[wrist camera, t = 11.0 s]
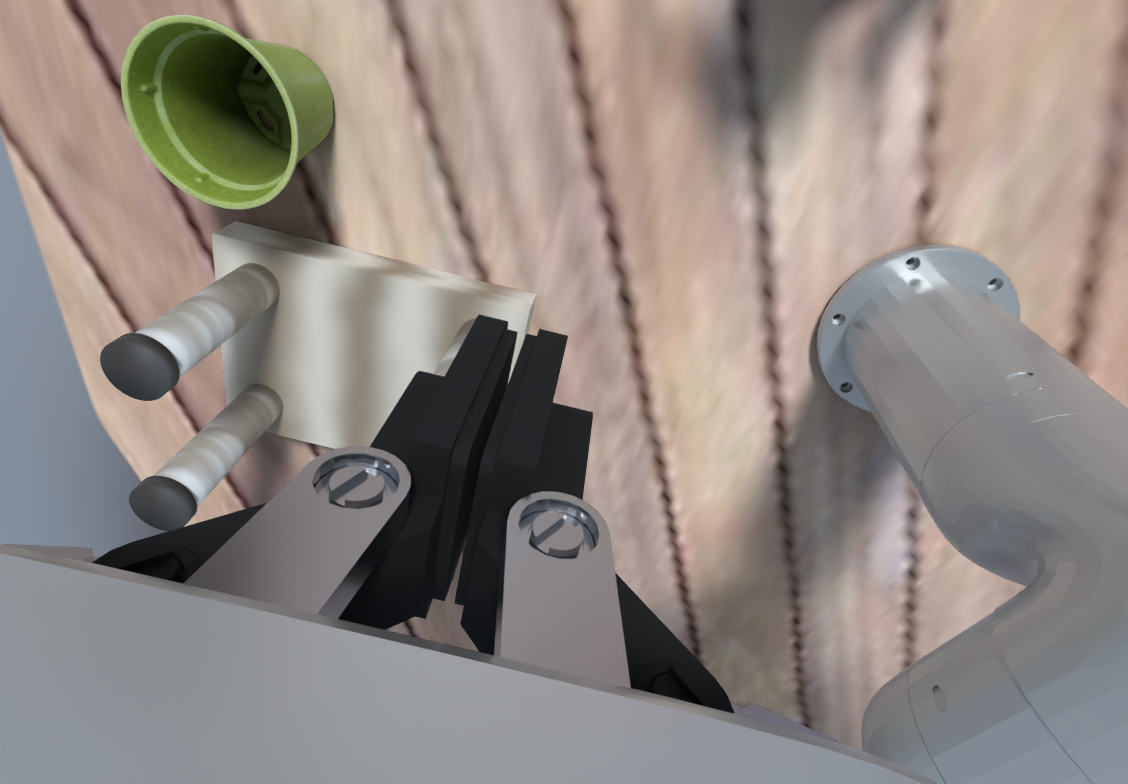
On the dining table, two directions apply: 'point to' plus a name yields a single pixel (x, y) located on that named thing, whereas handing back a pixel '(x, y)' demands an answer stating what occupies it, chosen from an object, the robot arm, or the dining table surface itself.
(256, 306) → the stool
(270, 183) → the plant pot
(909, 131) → the dining table surface
